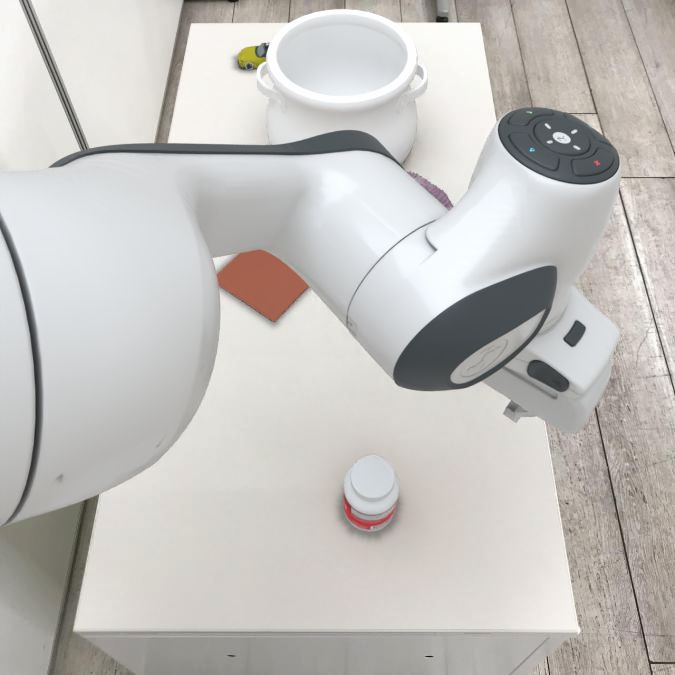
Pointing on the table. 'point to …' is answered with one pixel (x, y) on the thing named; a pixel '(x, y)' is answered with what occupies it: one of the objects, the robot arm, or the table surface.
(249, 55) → the toy car
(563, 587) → the table surface
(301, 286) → the napkin
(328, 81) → the pot
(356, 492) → the pill bottle
